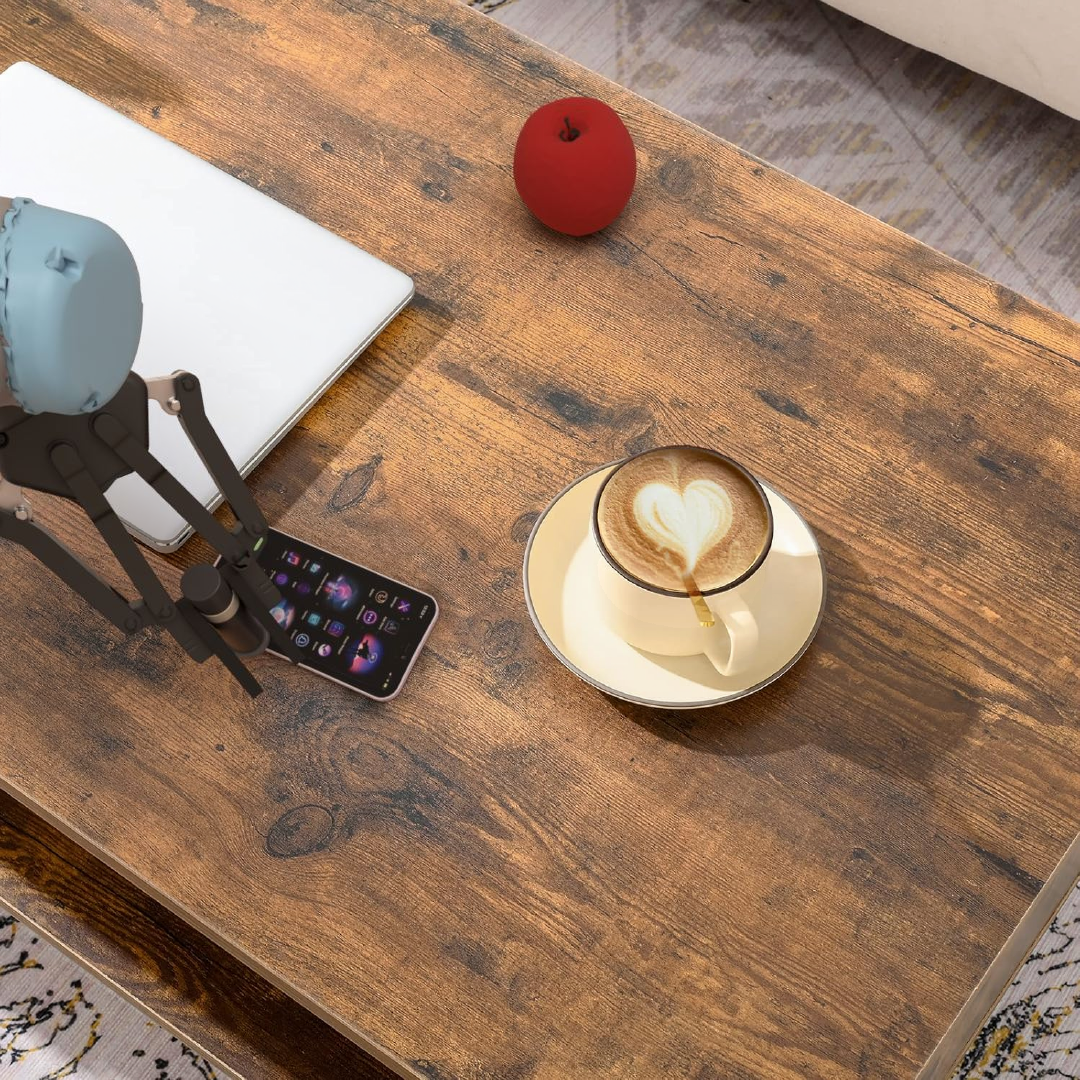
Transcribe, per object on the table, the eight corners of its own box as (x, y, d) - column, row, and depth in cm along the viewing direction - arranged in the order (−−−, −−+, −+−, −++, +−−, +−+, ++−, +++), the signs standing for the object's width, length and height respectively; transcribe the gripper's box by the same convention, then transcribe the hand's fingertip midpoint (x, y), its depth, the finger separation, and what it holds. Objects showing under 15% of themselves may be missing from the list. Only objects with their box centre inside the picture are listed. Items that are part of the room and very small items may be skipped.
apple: (655, 232, 86) (664, 136, 77) (542, 272, 85) (538, 179, 76) (607, 142, 89) (610, 40, 80) (497, 179, 88) (488, 80, 79)
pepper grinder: (244, 667, 71) (193, 613, 62) (219, 637, 72) (166, 579, 62) (278, 641, 71) (233, 583, 62) (254, 611, 72) (206, 550, 63)
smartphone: (243, 514, 77) (444, 600, 74) (245, 518, 78) (445, 603, 75) (184, 613, 75) (390, 705, 72) (187, 616, 75) (392, 708, 72)
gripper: (117, 247, 62) (358, 574, 72) (-137, 414, 59) (154, 734, 69) (136, 245, 56) (399, 605, 66) (-149, 433, 52) (175, 783, 62)
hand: (273, 670), depth 67 cm, fingers closed on pepper grinder, 2 cm apart
